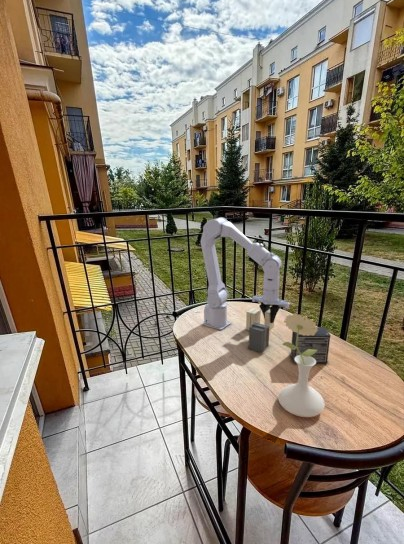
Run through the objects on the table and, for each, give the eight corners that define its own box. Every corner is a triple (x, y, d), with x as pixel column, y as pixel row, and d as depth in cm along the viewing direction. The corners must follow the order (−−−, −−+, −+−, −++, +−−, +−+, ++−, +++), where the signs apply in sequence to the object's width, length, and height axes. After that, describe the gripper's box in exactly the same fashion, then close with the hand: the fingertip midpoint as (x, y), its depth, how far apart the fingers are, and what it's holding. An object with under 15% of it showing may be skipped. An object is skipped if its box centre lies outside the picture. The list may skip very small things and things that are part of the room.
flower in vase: (333, 409, 71) (347, 320, 62) (303, 429, 66) (314, 334, 57) (293, 383, 82) (300, 303, 73) (264, 398, 76) (268, 314, 67)
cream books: (246, 329, 115) (246, 311, 112) (251, 325, 119) (252, 307, 116) (254, 331, 113) (254, 313, 110) (260, 327, 117) (260, 309, 114)
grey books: (248, 348, 101) (249, 326, 98) (256, 342, 105) (257, 320, 102) (261, 352, 98) (262, 329, 95) (268, 345, 102) (269, 323, 99)
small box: (321, 353, 96) (325, 326, 92) (327, 364, 90) (331, 335, 86) (290, 353, 97) (292, 325, 93) (293, 363, 91) (296, 335, 87)
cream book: (269, 326, 114) (270, 308, 111) (273, 327, 113) (274, 309, 110) (264, 331, 110) (264, 312, 107) (268, 332, 109) (269, 313, 106)
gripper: (248, 288, 107) (248, 320, 111) (285, 295, 98) (282, 329, 103) (257, 283, 112) (256, 314, 117) (292, 289, 103) (290, 322, 108)
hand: (269, 321), depth 110 cm, fingers closed on cream book, 2 cm apart
